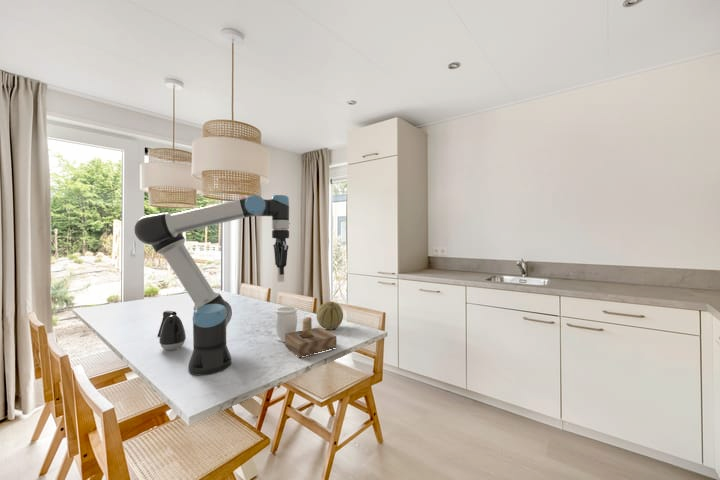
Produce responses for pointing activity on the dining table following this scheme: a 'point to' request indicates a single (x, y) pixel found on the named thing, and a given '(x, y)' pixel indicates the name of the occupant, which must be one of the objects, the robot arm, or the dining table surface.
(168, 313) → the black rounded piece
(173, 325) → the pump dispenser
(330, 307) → the cantaloupe
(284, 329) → the jar
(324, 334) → the wooden block with hole
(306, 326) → the peg
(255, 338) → the dining table surface
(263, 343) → the dining table surface
